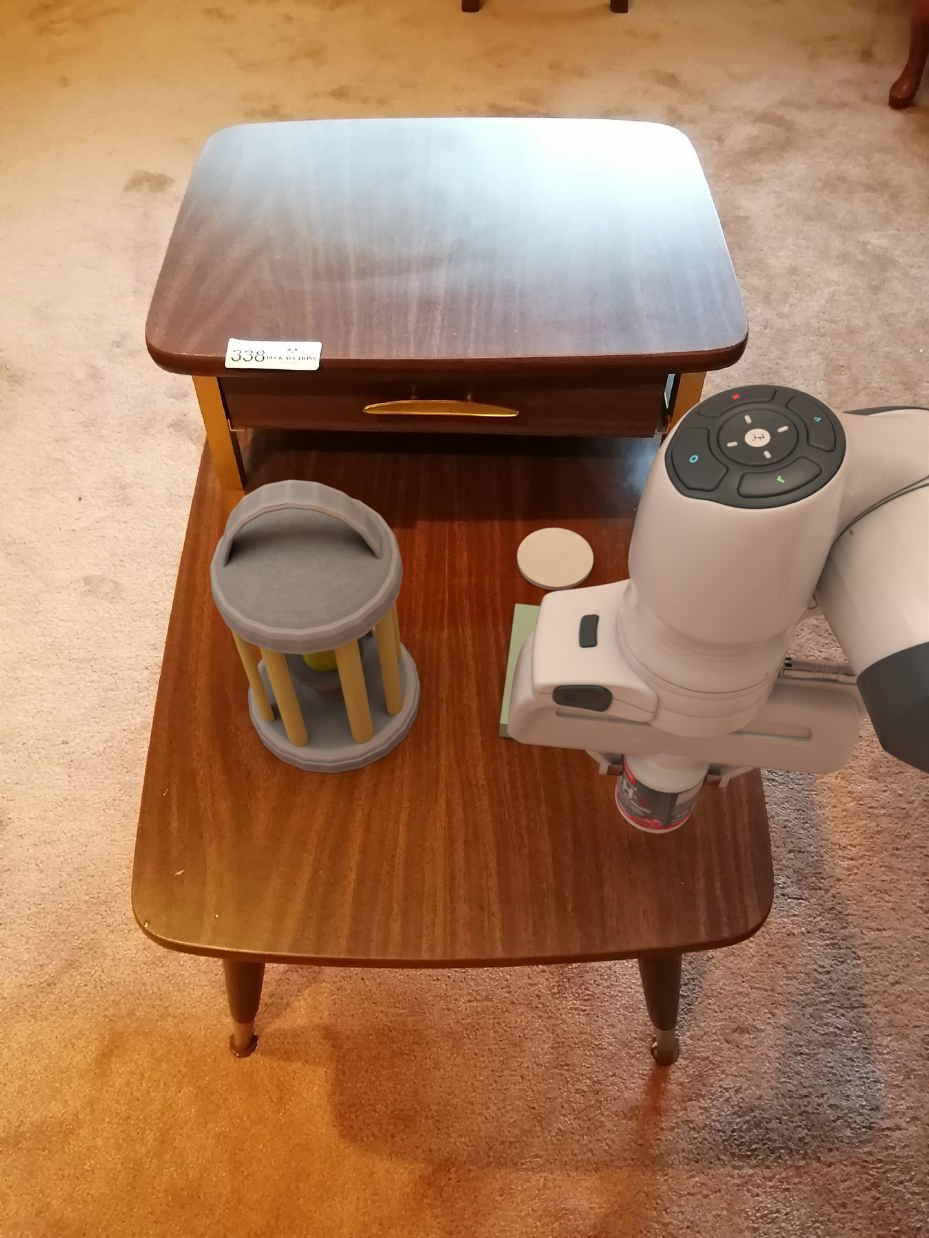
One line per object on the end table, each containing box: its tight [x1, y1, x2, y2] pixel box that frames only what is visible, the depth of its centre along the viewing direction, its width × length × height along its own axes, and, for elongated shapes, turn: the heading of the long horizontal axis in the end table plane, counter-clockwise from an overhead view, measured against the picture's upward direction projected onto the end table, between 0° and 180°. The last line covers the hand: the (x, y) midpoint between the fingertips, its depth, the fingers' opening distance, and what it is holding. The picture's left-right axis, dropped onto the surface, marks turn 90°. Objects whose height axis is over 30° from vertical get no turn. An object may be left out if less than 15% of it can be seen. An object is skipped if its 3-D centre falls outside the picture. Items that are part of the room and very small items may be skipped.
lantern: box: [209, 479, 421, 774], centre depth 72 cm, size 14×14×25 cm
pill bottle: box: [614, 754, 710, 834], centre depth 64 cm, size 5×5×10 cm
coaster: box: [516, 527, 594, 591], centre depth 91 cm, size 7×7×1 cm
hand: (660, 771), depth 64 cm, fingers closed on pill bottle, 5 cm apart
